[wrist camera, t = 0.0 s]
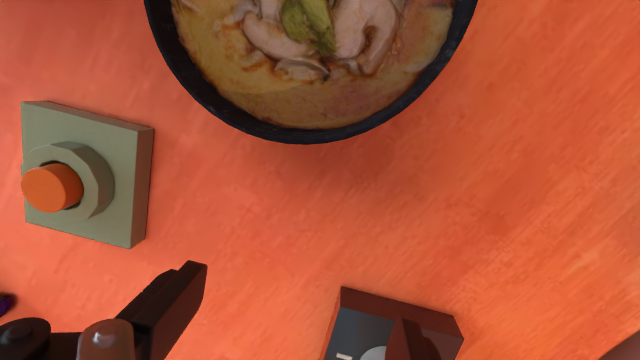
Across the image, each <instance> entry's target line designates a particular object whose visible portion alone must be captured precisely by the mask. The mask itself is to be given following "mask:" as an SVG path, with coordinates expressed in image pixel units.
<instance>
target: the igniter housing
mask: <svg viewBox="0 0 640 360" xmlns="http://www.w3.org/2000/svg"><path fill="white" fill-rule="evenodd" d="M21 123H22V147H23V163H22V165H21V174H22V177H23V176H24V174H25V173H26V172H27V171H29V170H30V169H33V168H37V167H41V166H45V165H49V164H54V163H60V164H64V165H67V166H69V167H70V168H72V169H73V170H74V171H75V172H76V173H77V174H78V175H79V177H80V178H81V180H82V183H83V188H84V191H83V196H82V198H81V200H80V201H79V202H78V203H76V204H74V205H72V206H69V207H67V208H65V209H62V210H60V211H57V212H54V213H46V212H42V211H40V210H38V209H36V208H34V207H33V206H32V205H31V204H30V203H29V202H28V201H27V200H26V198H25V219H26V222H28V223H32V224H35V225H39V226H43V227H47V228H50V229H54V230H58V231H62V232H66V233H69V234H73V235H77V236H81V237H84V238H88V239H92V240H96V241H100V242H103V243H107V244H111V245H115V246H119V247H122V248H126V249H131V248H133V247H134V246H136V245H137V244H138V243H140V242H141V241H142V240H144V239H145V231H146V219H147V206H148V194H149V182H150V170H151V158H152V146H153V134H154V129H153V128H150V127H146V126H142V125H138V124H134V123H130V122H126V121H122V120H118V119H114V118H110V117H107V116H103V115H99V114H95V113H91V112H87V111H83V110H79V109H75V108H71V107H67V106H64V105H60V104H56V103H52V102H48V101H25V102H21Z"/></svg>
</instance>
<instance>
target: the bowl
mask: <svg viewBox="0 0 640 360" xmlns="http://www.w3.org/2000/svg"><path fill="white" fill-rule="evenodd" d="M477 2H478V0H144V5H145V9H146V13H147V17H148V20H149V24H150V27H151V30H152V33H153V35H154V38H155V41H156V43H157V46H158V48H159V50H160V52H161V54H162V56H163V58H164V59H165V61H166V63H167V65H168V67H169V68H170V70H171V71H172V72H173V74H174V75H175V77H176V78H177V79H178V81H179V82H180V83H181V85H182V86H183V87H184V88H185V89H186V90H187V91H188V92H189V94H190V95H191V96H192V97H193V98H194V99H195V100H196V101H197V102H198V103H200V104H201V105H202V106H203V107H204V108H206V109H207V110H208V111H209V112H210V113H211V114H213V115H215V116H216V117H218V118H219V119H221V120H222V121H224V122H225V123H227V124H228V125H230V126H232V127H234V128H237V129H239V130H241V131H243V132H245V133H247V134H250V135H253V136H256V137H259V138H262V139H265V140H269V141H275V142H280V143H285V144H302V145H309V144H321V143H329V142H334V141H339V140H343V139H347V138H350V137H353V136H356V135H359V134H362V133H365V132H367V131H369V130H371V129H373V128H375V127H377V126H379V125H381V124H383V123H385V122H386V121H388V120H389V119H391V118H392V117H394V116H396V115H397V114H399V113H400V112H402V111H403V110H404V109H405V108H406V107H408V106H409V105H410V104H411V103H412V102H414V101H415V100H416V99H417V98H418V97H419V96H420V95H421V94H422V93H423V92H424V91H425V90H426V89H427V88H428V86H429V85H430V84H431V83H432V82H433V81H434V80H435V79H436V77H437V76H438V75H439V73H440V72H441V71H442V70H443V68H444V67H445V66H446V65H447V63H448V62H449V61H450V59H451V57H452V56H453V54H454V52H455V51H456V49H457V47H458V46H459V44H460V42H461V40H462V39H463V36H464V34H465V32H466V30H467V28H468V25H469V23H470V21H471V19H472V16H473V14H474V11H475V8H476V5H477Z"/></svg>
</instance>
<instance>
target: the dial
mask: <svg viewBox="0 0 640 360" xmlns="http://www.w3.org/2000/svg"><path fill="white" fill-rule="evenodd" d="M386 347H387V346H379V347H375V348H372V349H370V350H368V351H367V352H365V353H364V354H363V356H362V357H361V359H360V360H385V352H386Z"/></svg>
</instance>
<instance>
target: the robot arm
mask: <svg viewBox="0 0 640 360" xmlns="http://www.w3.org/2000/svg"><path fill="white" fill-rule="evenodd" d="M206 275H207V265H206V264H202V263H198V262H195V261H191V260H188V261H187V262H186V263H185V264H184V265H183V266H182V267H181V268H180V269H179V270H178V271H177V270H174V269H170V270H168V271H166V272H164V273H162V274H160V275H158V276H157V277H156V278H155V279H154V280H153V281H152V282H151V283H150V285H148V286H147V287H146V288H145V289H144V290H143V292H141V293H140V294H139V295H138V296H137V297H136V298H134V299H133V300H132V301H131V302H130V303H129V304H128V305H127V306H126V307H125V308H124V309H123V310H122V311H121V312H120V313H119V314H118V315H117V316H116V317H115V318H114V319H106V320H102V321H99V322H97V323H94V324H92V325H91V326H89V327H88V328H86V329H85V330H84V331H83V332H70V333H51V326H50V324H49V322H48V321H46V320H44V319H42V318H35V317H30V318H22V319H18V320H14V321H11V322H8V323H6V324H4V325H2V326H0V360H164V359H165V358H166V356H167V355H168V353H169V352H170V350H171V349H172V347H173V346H174V344H175V343H176V342H177V340H178V339H179V337H180V336H181V334H182V333H183V331H184V330H185V329H186V327H187V326H188V324H189V323H190V321H191V320H192V318H193V317H194V316H195V314H196V313H197V311H198V309H199V307H200V305H201V302H202V299H203V295H204V288H205V282H206ZM385 360H442V359H441V356H440V353H439V350H438V349H437V347H436V346H435V345H434V343H433V342H432V341H431V339H430V338H428V337H424V336H423V334H422V331H421V328H420V324H419V322H418V321H416V320H412V319H408V318H404V317H401V316H399V317H398V318H397V320H396V323H395V325H394V328H393V331H392V333H391V336H390V339H389V341H388V344H387V347H386V352H385Z"/></svg>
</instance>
